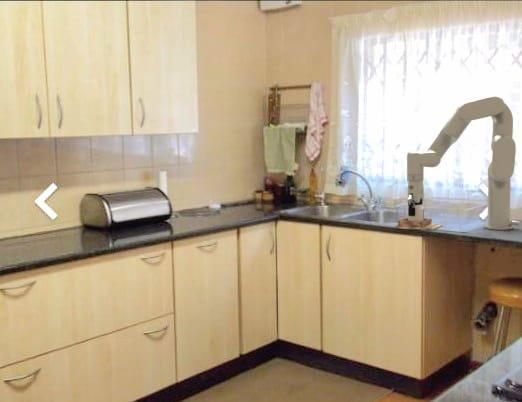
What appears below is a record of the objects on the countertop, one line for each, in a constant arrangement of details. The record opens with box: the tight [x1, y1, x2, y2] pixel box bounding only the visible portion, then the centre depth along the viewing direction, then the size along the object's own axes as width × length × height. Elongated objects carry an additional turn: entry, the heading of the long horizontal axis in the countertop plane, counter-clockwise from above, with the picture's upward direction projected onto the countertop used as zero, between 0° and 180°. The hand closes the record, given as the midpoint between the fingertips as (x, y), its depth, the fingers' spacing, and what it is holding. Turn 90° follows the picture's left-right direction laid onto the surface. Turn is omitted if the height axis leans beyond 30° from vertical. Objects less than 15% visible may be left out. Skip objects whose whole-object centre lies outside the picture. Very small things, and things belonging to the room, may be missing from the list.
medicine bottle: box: [407, 198, 425, 222], centre depth 304 cm, size 7×7×12 cm
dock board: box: [395, 216, 444, 232], centre depth 304 cm, size 18×14×4 cm
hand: (415, 214), depth 304 cm, fingers closed on medicine bottle, 8 cm apart
